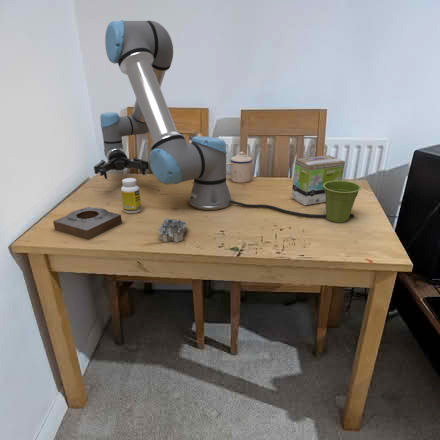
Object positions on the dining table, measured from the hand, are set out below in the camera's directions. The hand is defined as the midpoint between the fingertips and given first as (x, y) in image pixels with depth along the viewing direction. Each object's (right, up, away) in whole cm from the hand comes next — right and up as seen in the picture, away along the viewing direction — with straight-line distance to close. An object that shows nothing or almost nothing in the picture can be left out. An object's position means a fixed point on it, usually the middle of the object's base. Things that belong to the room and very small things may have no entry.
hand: (125, 173), depth 148 cm
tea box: (+70, -8, +6) cm, 71 cm away
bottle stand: (-8, -21, -14) cm, 27 cm away
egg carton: (+20, -25, -20) cm, 38 cm away
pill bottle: (+3, -14, -2) cm, 15 cm away
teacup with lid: (+42, +5, +28) cm, 50 cm away
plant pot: (+74, -18, -10) cm, 76 cm away
